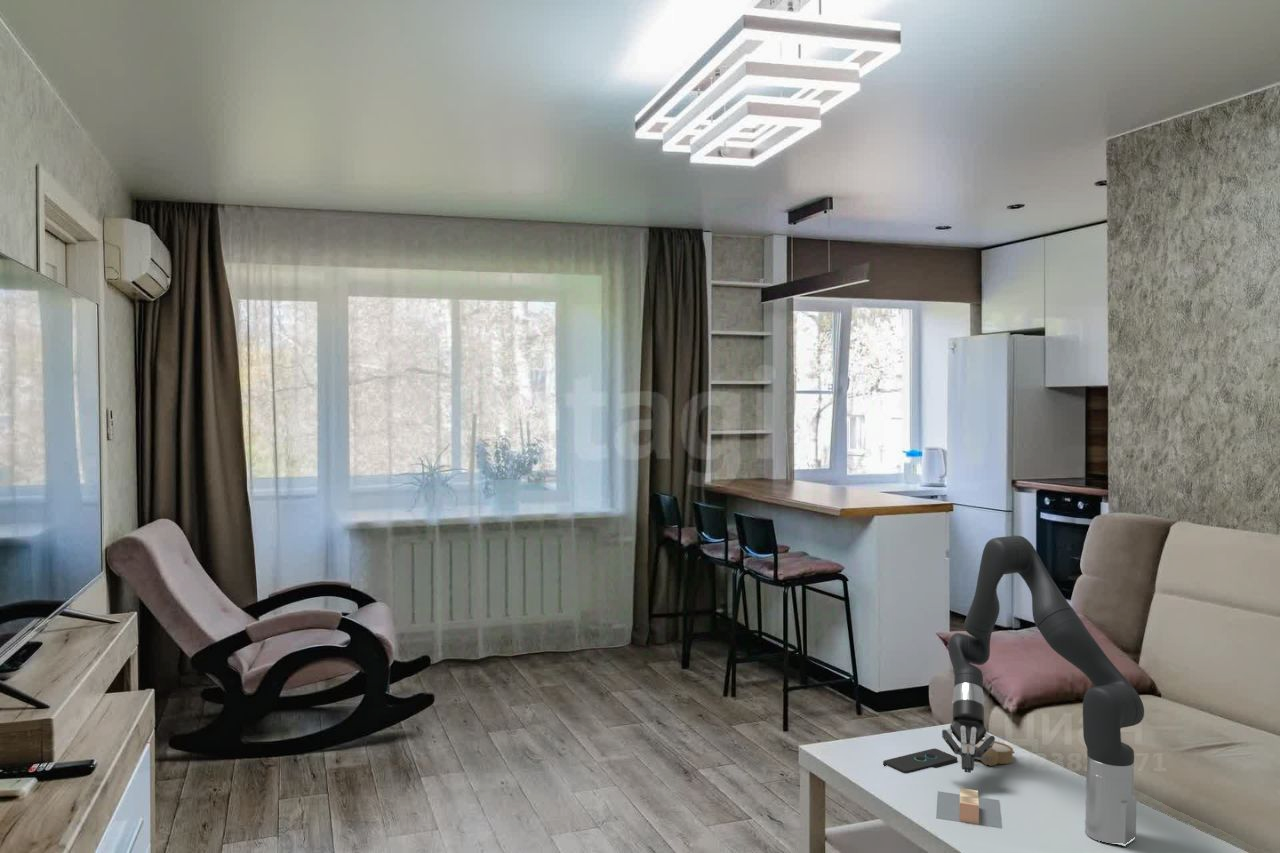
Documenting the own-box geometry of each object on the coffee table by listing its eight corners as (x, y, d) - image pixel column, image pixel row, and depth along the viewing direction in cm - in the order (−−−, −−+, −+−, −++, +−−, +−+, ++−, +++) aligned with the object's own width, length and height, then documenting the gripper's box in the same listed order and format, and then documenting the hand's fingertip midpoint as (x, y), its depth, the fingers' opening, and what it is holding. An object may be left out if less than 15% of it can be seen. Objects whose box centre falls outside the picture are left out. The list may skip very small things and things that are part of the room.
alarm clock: (1021, 748, 247) (992, 750, 238) (1019, 767, 247) (989, 770, 238) (983, 736, 256) (953, 738, 247) (981, 754, 256) (951, 756, 246)
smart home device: (959, 757, 244) (905, 771, 234) (958, 763, 244) (905, 777, 234) (934, 747, 251) (881, 760, 241) (934, 753, 251) (881, 766, 241)
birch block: (978, 790, 214) (979, 805, 206) (977, 807, 214) (978, 823, 206) (959, 787, 216) (959, 802, 207) (959, 805, 216) (959, 820, 207)
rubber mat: (999, 802, 219) (999, 800, 219) (1002, 830, 204) (1002, 828, 204) (937, 793, 223) (937, 791, 223) (936, 820, 208) (936, 818, 208)
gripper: (941, 695, 233) (939, 760, 222) (996, 701, 229) (997, 768, 218) (940, 709, 238) (938, 773, 227) (995, 716, 234) (996, 781, 223)
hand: (967, 770), depth 222 cm, fingers closed
